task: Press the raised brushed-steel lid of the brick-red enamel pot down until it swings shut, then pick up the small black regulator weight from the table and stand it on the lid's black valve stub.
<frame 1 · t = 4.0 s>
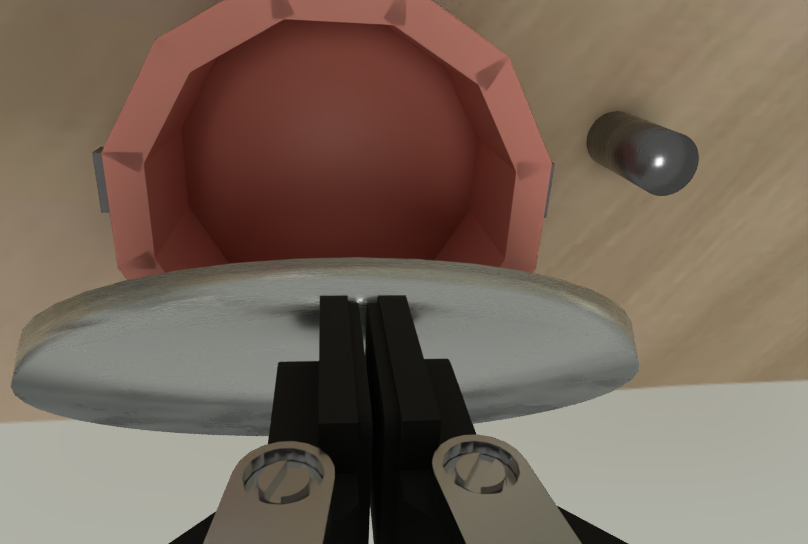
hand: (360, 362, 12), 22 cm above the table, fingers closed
lid: (341, 384, 21), point 15 cm above the table, hinge at 44.7°, touching gripper, pot
pot: (333, 167, 33), on the table
weight: (612, 138, 34), on the table
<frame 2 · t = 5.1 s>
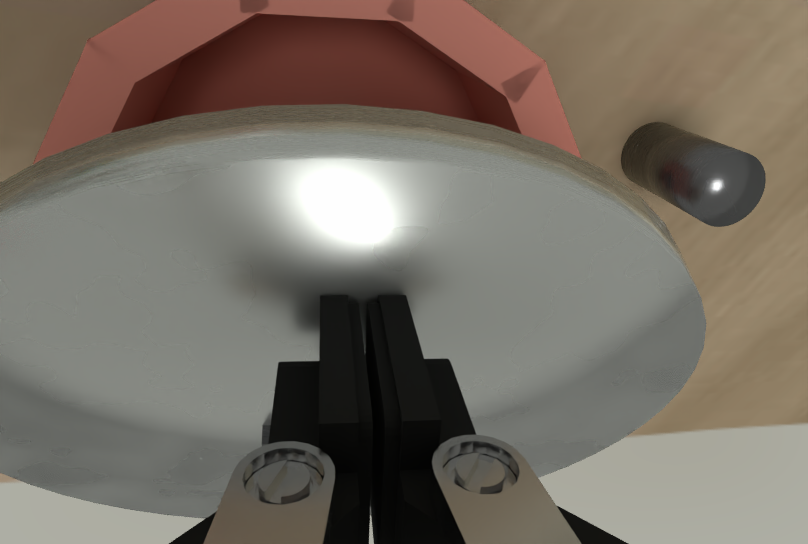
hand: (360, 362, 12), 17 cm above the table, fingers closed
lid: (332, 405, 17), point 13 cm above the table, hinge at 29.6°
pot: (323, 190, 28), on the table
weight: (651, 154, 29), on the table
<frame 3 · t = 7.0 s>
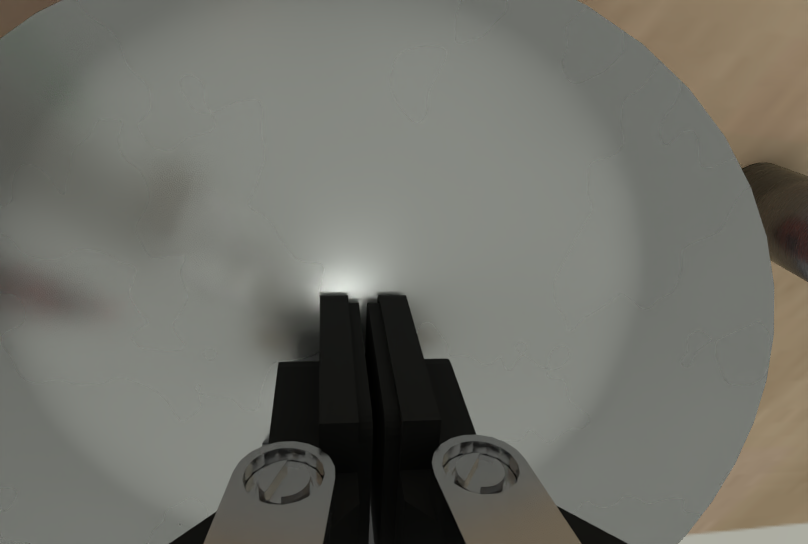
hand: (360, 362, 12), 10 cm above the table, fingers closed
lid: (348, 429, 14), point 9 cm above the table, hinge at 1.9°, touching gripper
weight: (753, 202, 23), on the table
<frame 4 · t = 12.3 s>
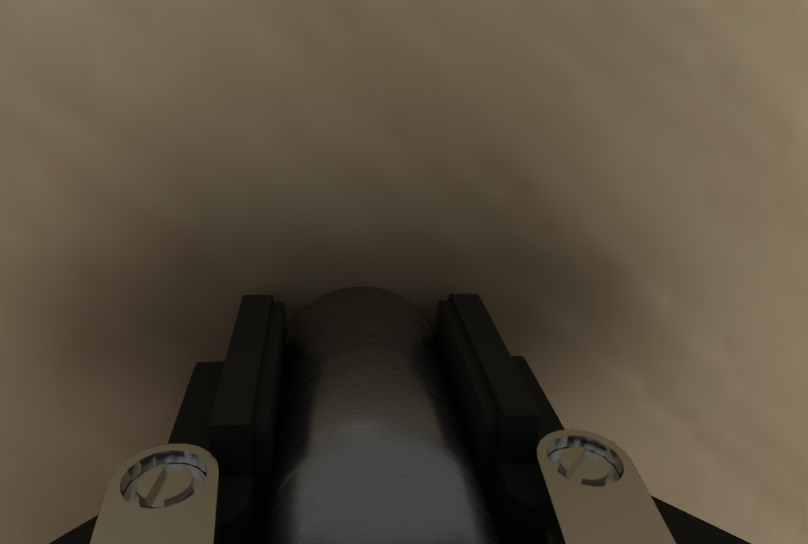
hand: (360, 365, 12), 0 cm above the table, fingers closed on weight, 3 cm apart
weight: (359, 354, 12), on the table, touching gripper
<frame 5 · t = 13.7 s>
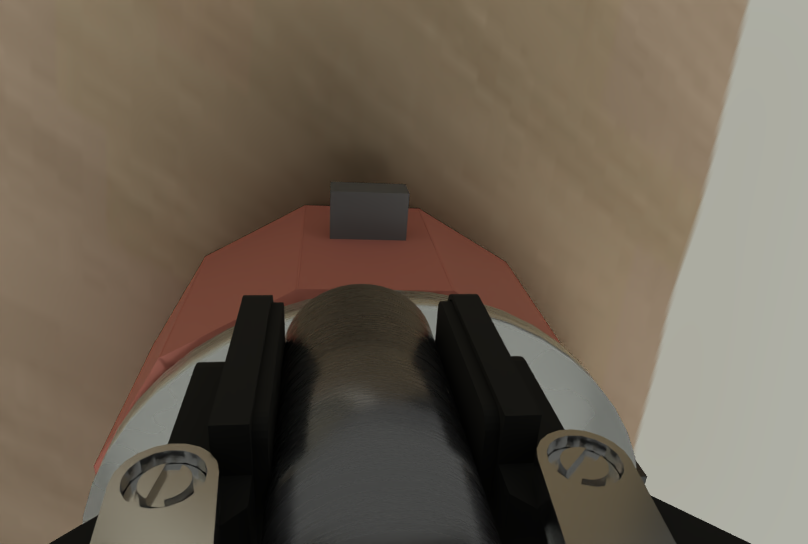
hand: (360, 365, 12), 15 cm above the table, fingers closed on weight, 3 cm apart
lid: (382, 536, 21), point 9 cm above the table, hinge at 1.8°
pot: (354, 384, 30), on the table
weight: (359, 351, 12), point 14 cm above the table, touching gripper
when the fingers open (11 cm above the table, at t = 15.2 s): weight stays where it is, resting on lid.
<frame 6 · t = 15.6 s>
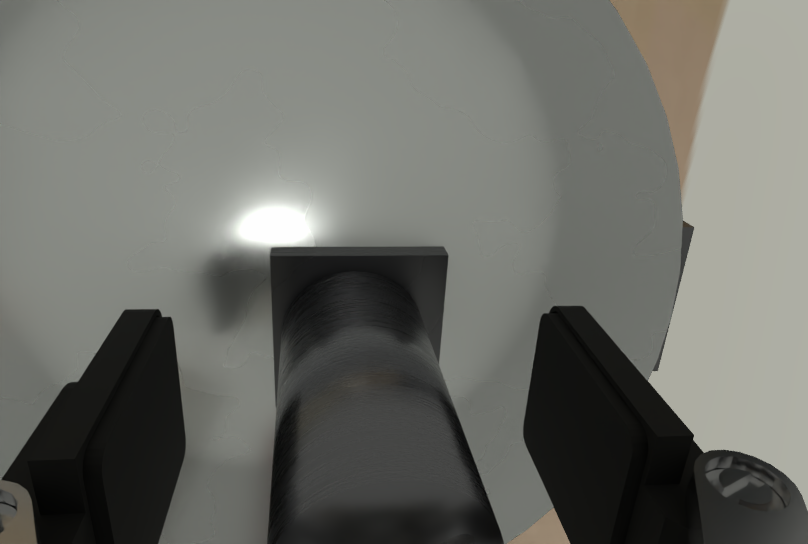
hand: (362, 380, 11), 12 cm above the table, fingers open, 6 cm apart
lid: (286, 311, 14), point 9 cm above the table, hinge at 1.1°, touching weight
weight: (353, 335, 13), point 10 cm above the table, touching lid
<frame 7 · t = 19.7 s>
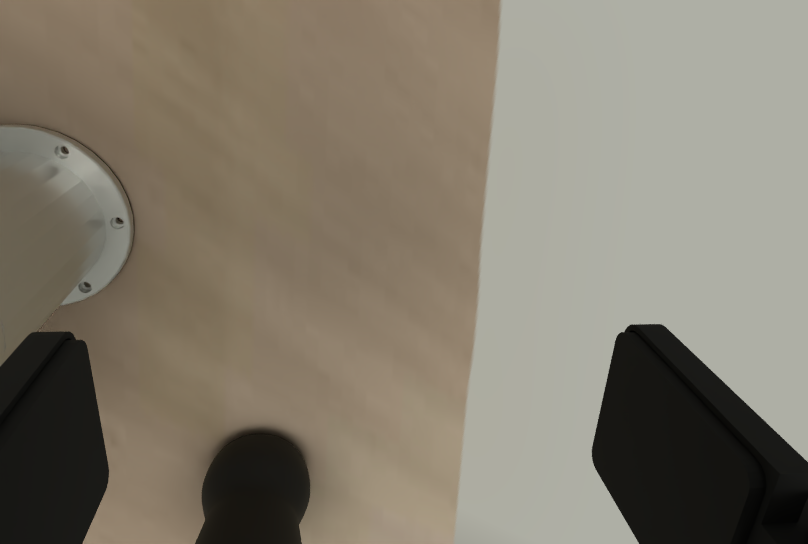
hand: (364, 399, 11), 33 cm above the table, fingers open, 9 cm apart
cola bottle: (260, 462, 52), on the table
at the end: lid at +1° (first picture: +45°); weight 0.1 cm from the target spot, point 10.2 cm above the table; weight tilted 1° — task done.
